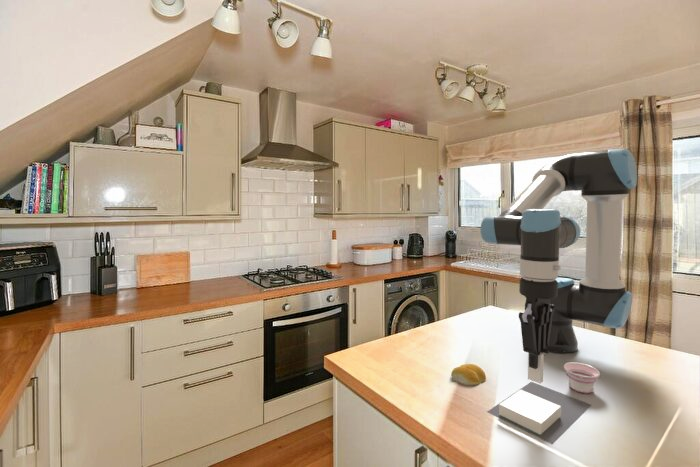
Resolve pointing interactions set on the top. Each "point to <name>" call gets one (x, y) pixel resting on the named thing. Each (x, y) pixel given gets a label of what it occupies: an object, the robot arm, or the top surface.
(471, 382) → the bread roll
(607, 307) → the robot arm
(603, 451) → the top surface
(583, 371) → the teacup
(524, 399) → the tile
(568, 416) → the mat
